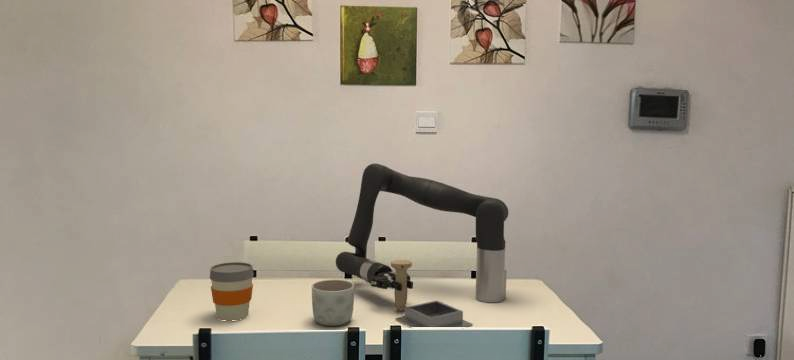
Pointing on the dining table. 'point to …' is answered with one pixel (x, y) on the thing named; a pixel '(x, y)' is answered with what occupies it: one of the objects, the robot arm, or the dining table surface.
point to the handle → (401, 278)
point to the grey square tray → (433, 316)
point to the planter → (332, 302)
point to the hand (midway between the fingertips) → (406, 286)
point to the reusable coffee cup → (231, 289)
